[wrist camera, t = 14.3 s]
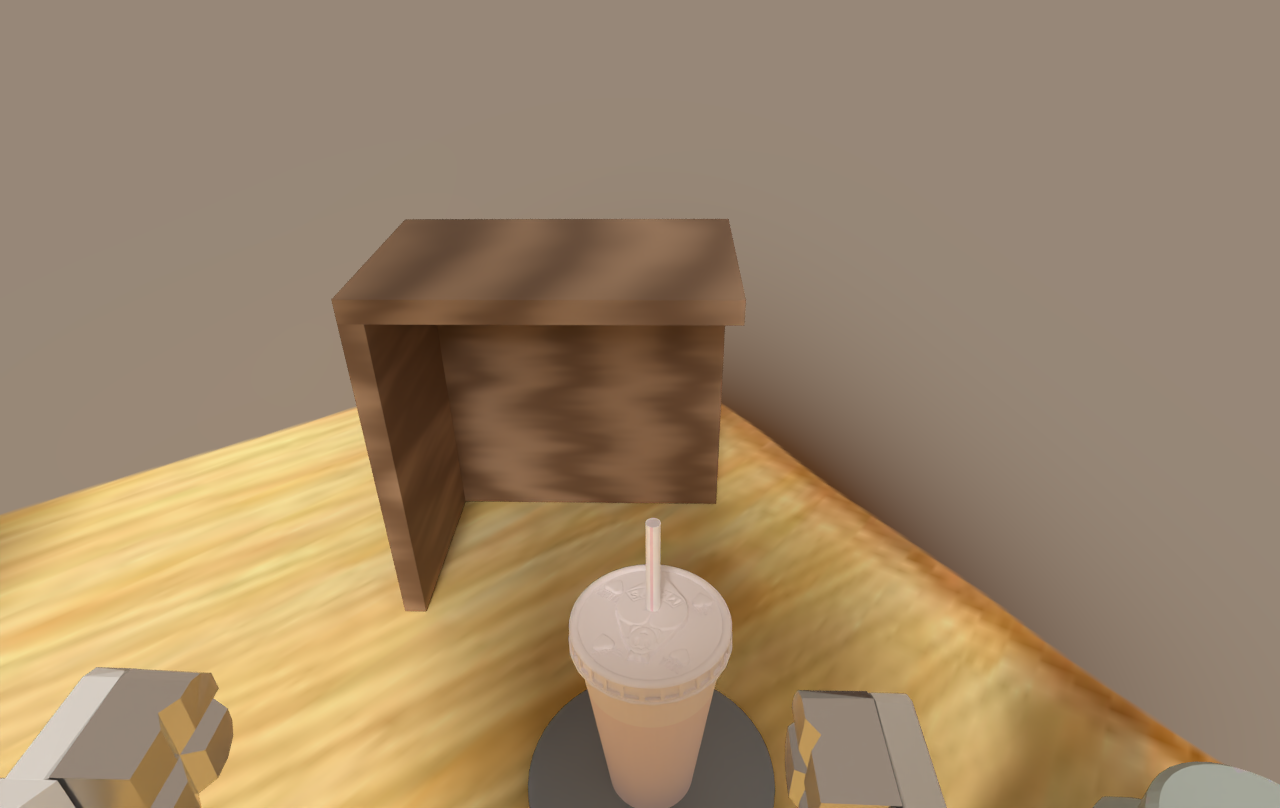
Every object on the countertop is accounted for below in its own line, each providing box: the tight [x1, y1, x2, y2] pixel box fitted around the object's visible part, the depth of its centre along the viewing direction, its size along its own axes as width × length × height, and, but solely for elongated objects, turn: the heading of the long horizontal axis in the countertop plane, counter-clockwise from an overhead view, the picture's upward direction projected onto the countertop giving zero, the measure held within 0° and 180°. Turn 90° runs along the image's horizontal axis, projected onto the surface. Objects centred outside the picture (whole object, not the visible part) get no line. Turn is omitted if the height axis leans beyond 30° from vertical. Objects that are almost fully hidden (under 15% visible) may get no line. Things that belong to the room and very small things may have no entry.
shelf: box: [332, 219, 746, 611], centre depth 43 cm, size 18×11×19 cm, turn 88°
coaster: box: [528, 689, 775, 808], centre depth 35 cm, size 11×11×1 cm
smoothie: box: [568, 518, 732, 808], centre depth 31 cm, size 6×6×14 cm
